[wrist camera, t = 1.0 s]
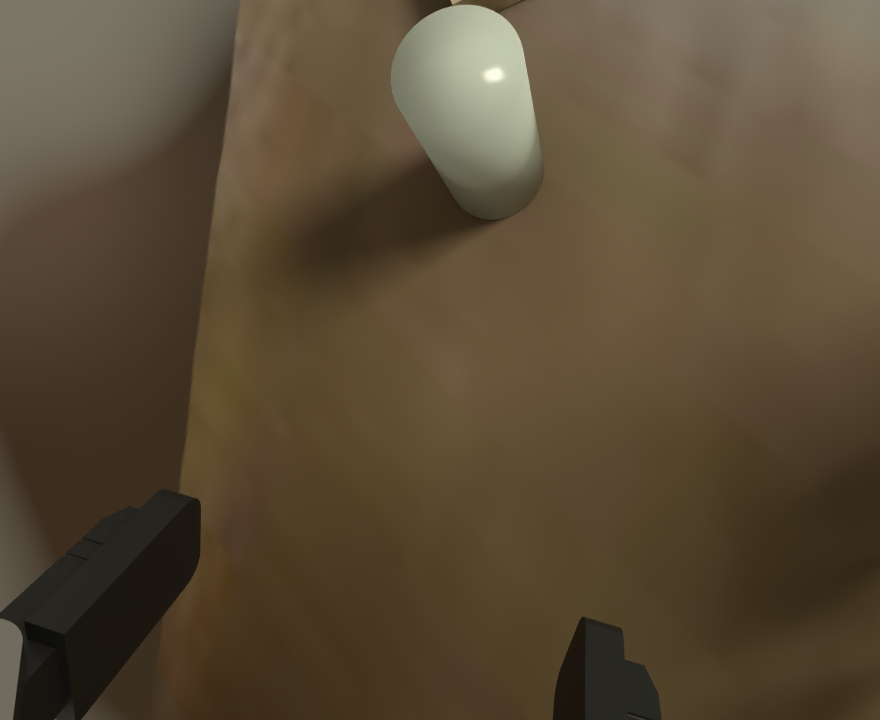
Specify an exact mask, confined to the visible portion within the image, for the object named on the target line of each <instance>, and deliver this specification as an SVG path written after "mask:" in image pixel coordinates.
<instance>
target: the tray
mask: <svg viewBox="0 0 880 720" xmlns="http://www.w3.org/2000/svg"><path fill="white" fill-rule="evenodd" d="M450 1H451V4H452V6H456V5H476V6H481V7H485V8H488V9H490V10H492V11H494V12H496V13H497V12H499V11H501V10H503V9H505V8H508V7H510V6H512V5H514V4H516V3H518V2H520V1H523V0H450Z"/></svg>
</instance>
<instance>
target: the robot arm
mask: <svg viewBox="0 0 880 720" xmlns="http://www.w3.org/2000/svg"><path fill="white" fill-rule="evenodd" d="M200 531H201V504H200V501H199V500H198V499H196V498H193V497H190V496H186V495H183V494H180V493H176V492H173V491H170V490H166V489H162V490H160V491H158V492H157V493H156V494H154V496H152V497H151V499H150V500H148V501H147V502H146V503H145V504H144V505H143V506H142V507H141V508H140V509H138V508H134V507H131V506H128V507H126V508H124V509H122V510H120V511H118V512H116V513H114V514H112V515H110V516H108V517H106V518H104V519H102V520H101V521H100V522H99V523H98V524H97V525H96V526H95V527H94V528H92V529H91V530H90V531H89V532H88V533H87V534H86V535H85V536H84V537H83V539H82V541H78V542H77V543H76V544H75V545H74V546H73V547H72V548H71V549H70V550H69V551H67V552H66V555H65V556H64V557H63V556H62V557H61V558H60V559H59V560H57V562H55V563H54V564H53V565H52V566H51V567H50V568H49V569H48V570H47V571H45V572H44V573H43V574H42V575H41V576H40V577H39V578H38V579H37V580H36V581H34V583H32V584H31V585H30V586H29V587H28V588H27V589H26V590H25V591H24V592H22V593H21V594H20V595H19V596H18V597H17V598H16V599H15V600H14V601H13V602H12V603H10V604H9V605H8V606H7V607H6V608H5V609H4V610H3V611H2V612H0V720H54V719H57V720H81V719H82V718H83V717H84V715H85V714H86V713H87V711H88V710H89V709H90V708H91V706H92V705H93V704H94V703H95V701H96V700H97V699H98V697H99V696H100V695H101V694H102V692H103V691H104V690H105V689H106V687H107V686H108V685H109V683H110V682H111V681H112V680H113V678H114V677H115V676H116V675H117V673H118V672H119V671H120V669H121V668H122V667H123V666H124V664H125V663H126V661H128V659H129V658H130V657H131V656H132V654H133V653H134V652H135V650H136V649H137V648H138V647H139V645H140V644H141V643H142V642H143V640H144V639H145V638H146V636H147V635H148V634H149V633H150V631H151V630H152V629H153V627H154V626H155V625H156V624H157V622H158V621H159V620H160V619H161V617H162V616H163V615H164V614H165V612H166V611H167V610H168V609H169V607H170V606H171V605H172V603H173V602H174V601H175V600H176V598H177V597H178V596H179V595H180V593H181V592H182V591H183V589H184V588H185V587H186V586H187V584H188V583H189V582H190V580H191V578H192V576H193V575H194V572H195V570H196V568H197V565H198V562H199V558H200ZM553 720H661V713H660V704H659V695H658V692H657V690H656V688H655V686H654V684H653V682H652V680H651V678H650V676H649V674H648V672H647V670H646V668H645V666H643V665H640V664H637V663H634V662H630V661H627V660H625V659H624V642H623V632H622V629H621V628H619V627H615V626H612V625H609V624H606V623H602V622H599V621H596V620H592V619H589V618H586V617H582V618H581V619H580V621H579V623H578V626H577V628H576V631H575V633H574V636H573V638H572V641H571V643H570V646H569V648H568V651H567V653H566V656H565V659H564V661H563V664H562V666H561V669H560V672H559V676H558V680H557V685H556V690H555V698H554V712H553Z"/></svg>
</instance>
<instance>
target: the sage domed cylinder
mask: <svg viewBox="0 0 880 720" xmlns="http://www.w3.org/2000/svg"><path fill="white" fill-rule="evenodd" d="M391 88H392V93H393V97H394V100H395V102H396V104H397V106H398V108H399V110H400V111H401V113H402V115H403V116H404V118H405V119H406V121H407V123H408V124H409V126H410V128H411V129H412V131H413V132H414V134H415V136H416V137H417V139H418V141H419V142H420V144H421V146H422V147H423V149H424V150H425V152H426V154H427V155H428V157H429V159H430V160H431V162H432V163H433V165H434V167H435V168H436V170H437V172H438V173H439V175H440V176H441V178H442V180H443V181H444V183H445V185H446V186H447V188H448V189H449V191H450V193H451V194H452V196H453V198H454V199H455V201H456V202H457V204H458V205H459V206H460V207H461V208H462V209H463V210H464V211H466V212H467V213H469V214H471V215H473V216H475V217H478V218H481V219H486V220H498V219H504V218H507V217H510V216H512V215H515V214H517V213H518V212H520V211H521V210H523V209H524V208H525V207H526V206H528V205H529V204H530V202H531V201H532V200H533V199H534V197H535V196H536V194H537V193H538V191H539V189H540V186H541V183H542V180H543V173H544V165H543V159H542V153H541V147H540V142H539V136H538V131H537V125H536V120H535V114H534V108H533V103H532V97H531V92H530V86H529V81H528V75H527V69H526V64H525V58H524V53H523V48H522V44H521V41H520V39H519V37H518V34H517V33H516V31H515V30H514V28H513V27H512V25H511V24H510V23H509V22H508V21H507V20H506V19H505V18H503V17H502V16H501V15H500V14H498V13H496V12H494V11H492V10H490V9H488V8H485V7H481V6H476V5H456V6H451V7H447V8H443V9H441V10H438V11H436V12H434V13H432V14H430V15H428V16H427V17H425V18H424V19H422V20H421V21H420V22H418V23H417V24H416V25H415V26H414V27H413V28H412V29H411V30H410V31H409V32H408V33H407V35H406V36H405V38H404V39H403V40H402V42H401V44H400V46H399V47H398V49H397V52H396V54H395V57H394V60H393V64H392V69H391Z"/></svg>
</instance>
